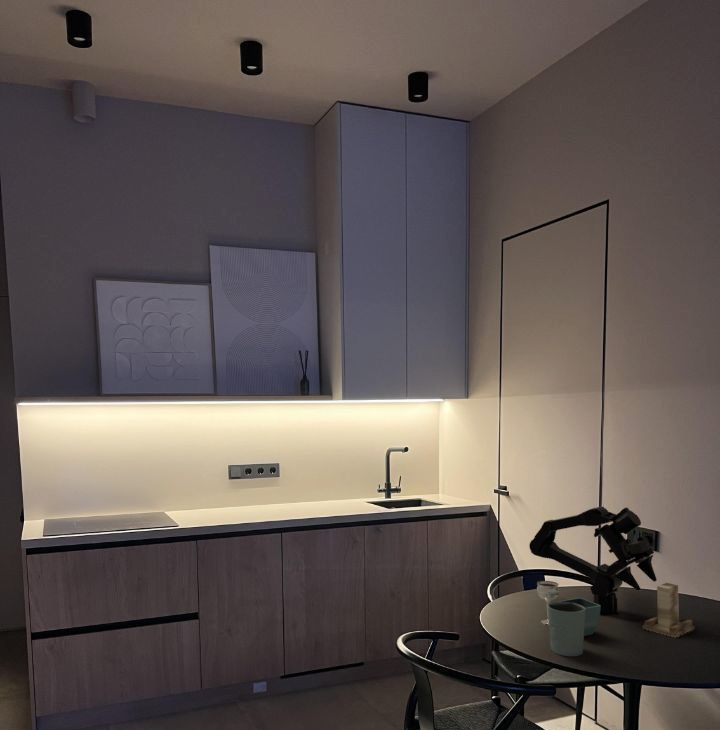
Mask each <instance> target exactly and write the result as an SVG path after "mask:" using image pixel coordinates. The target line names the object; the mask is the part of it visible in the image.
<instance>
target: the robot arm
mask: <svg viewBox="0 0 720 730" xmlns="http://www.w3.org/2000/svg"><path fill="white" fill-rule="evenodd" d="M609 523H610V524H609ZM601 525H603V526H602V527H600V528H599V527H597V526H601ZM641 525H642V522H641V519H640V517H639V516H638V515H637V514H636V513H634V511H632V510H630V509H629V508H628V507H624V508H622V509H621V511H619V512H618V513H617V514H616V513H613V512H610V511H608V509H607V508H605V507H604V506H597V507H593V508H589V509H587V510H585V511H582V512H581V513H579V514H576V515H570V516H566V517H561V518H556V519H549V520H546V521H544V522H543V523H542V525H541V527H540V528H539V530H538V531H537V533H536V534H535V535H534V538H533V539H531V540H530V542H529V545H528V547H529V550H530V553H531V554H533V556H537V557H538V558H539V557H540V558H542V559H549V560H554V561H556V562H557V563H559V564H561V565H563V566H566V567H567V568H569V569H571V570H573V571H575V572H577V573H579V574H581V575H582V576H585V577H587V578H588V579H589V580H591V582H592V583H593V585H591V586H590V591H591V594H592V595H593V603H596V604H598V605H600V606H601V608H600V616H606V615H607V616H608V615H610V616H611V615H619V614H620V612H619V611H618V610H619V608H618V597H617V593H616V592H618V589H619V588H620V587H621V586H622V585H623V583H625V584H627V585H629V587H632V588H633V589H635V590H637V591H639V590H641V586H640V584H639V583H638V582H637V580H636V578H635V577H634V575H633V574H632V570H631V564H634V563H636V567H637V568H639V569H640V571H641V572H643V573H644V575H646V577H648V578H649V579H650V580H651V581H653V582H656V581H657V577H656V574H655V571H654V567H653V564H652V562H653V561H652V560H653V558H654V555H653V554H655V552H654V550H653V549H652V548H651V547H649V545H650V541H649V539H648V538H647V537H645V535H642V536H638V537H637V540H635V541H631V539H629V538H626V537H624V535H628V534H630V533H631V532H633V531H634V530H635V529H637V528H638V527H639V526H641ZM581 526H584V527H596V528H594V533H593V537H594V538H598V537H600V536H601V538H602V539H603V540H604V542H605V543H606V544H607V546H608V547H609V548H610V549H608V552H609V553H610V554H612V553H613V555H614V556H615V557H616V561H614V562H612V563H610V565H609V564H607V563H603V564H599V565H598V566H597V565H594V564H593V563H591V562H588V561H587V560H585V559H583V558H581V557H579V556H576V555H575V554H572V553H571V552H568V551H566V550H564V549H562V548H560V547H559V546H558V544H557V543H556V542H555V539H556V536H557V531H560V530H564V529H570V528H574V527H575V528H576V527H581ZM623 534H624V535H623ZM629 565H630V566H629Z"/></svg>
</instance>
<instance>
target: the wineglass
mask: <svg viewBox="0 0 720 730" xmlns="http://www.w3.org/2000/svg"><path fill="white" fill-rule="evenodd" d="M536 585H537V587H536V593H537V595H538V596H539V598H540V599H542V600H544V601H545V602H546V612H547V613H546V614H547V615H546V616H547V619H543V620H540V621H541V622H542V623H543V624H542V623H541V624H542V625H545V624H548V625H547V626H549V617H548V607H547V605H548V604H549V603H551V602H552V601H554V600H555V599H556V598H558V596H559V593H560V589H559V582H556V581H551V580H539V581H537V582H536Z"/></svg>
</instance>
